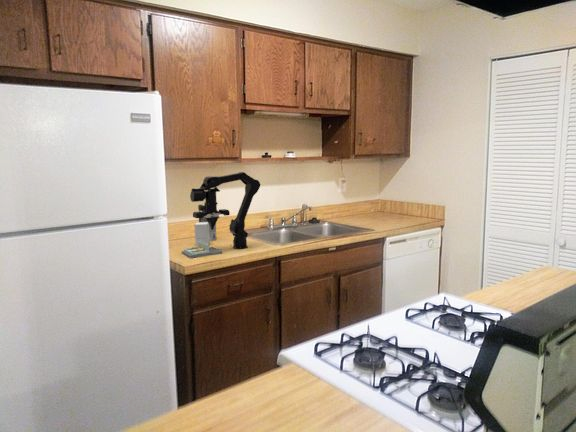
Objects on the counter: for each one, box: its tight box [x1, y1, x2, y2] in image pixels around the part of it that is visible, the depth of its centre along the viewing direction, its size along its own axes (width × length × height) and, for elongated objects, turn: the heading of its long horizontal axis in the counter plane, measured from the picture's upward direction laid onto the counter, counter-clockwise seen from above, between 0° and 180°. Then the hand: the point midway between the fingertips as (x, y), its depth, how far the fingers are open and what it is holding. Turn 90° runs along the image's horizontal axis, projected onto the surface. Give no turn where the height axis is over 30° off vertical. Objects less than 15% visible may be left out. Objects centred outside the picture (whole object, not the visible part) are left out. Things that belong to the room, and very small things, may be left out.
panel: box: [183, 241, 210, 255], centre depth 220 cm, size 9×12×4 cm
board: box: [181, 245, 223, 259], centre depth 222 cm, size 18×13×4 cm
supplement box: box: [194, 221, 211, 246], centre depth 243 cm, size 7×7×13 cm
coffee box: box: [198, 215, 217, 242], centre depth 256 cm, size 9×6×16 cm
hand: (212, 229), depth 225 cm, fingers closed
